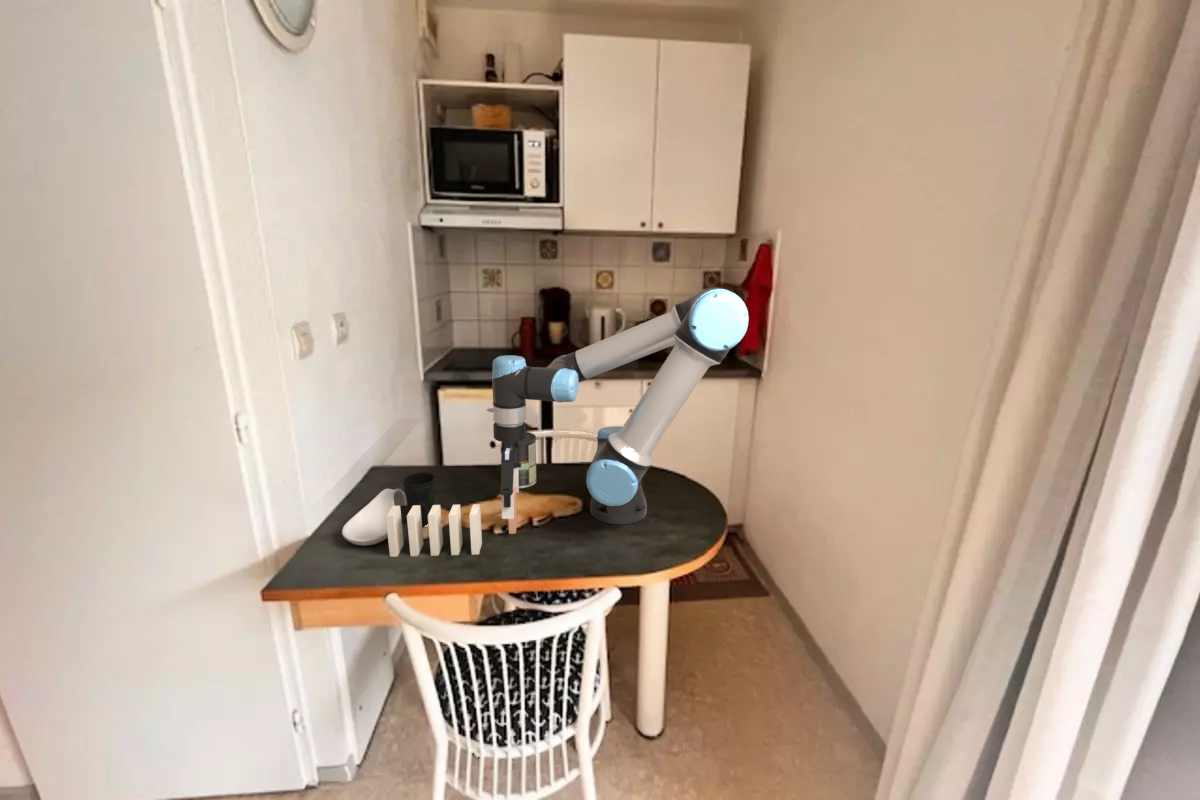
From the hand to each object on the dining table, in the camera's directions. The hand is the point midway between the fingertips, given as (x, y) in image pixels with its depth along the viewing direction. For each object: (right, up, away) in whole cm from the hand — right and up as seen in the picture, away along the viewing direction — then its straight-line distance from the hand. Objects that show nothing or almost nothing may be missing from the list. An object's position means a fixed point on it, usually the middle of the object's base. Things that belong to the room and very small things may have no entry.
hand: (510, 504), depth 128 cm
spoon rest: (-32, -6, +2) cm, 33 cm away
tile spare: (0, -6, +2) cm, 6 cm away
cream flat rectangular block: (-24, -9, -9) cm, 27 cm away
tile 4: (-20, -9, -8) cm, 23 cm away
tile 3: (-15, -9, -8) cm, 20 cm away
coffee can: (-2, +1, +29) cm, 29 cm away
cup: (-23, -5, +4) cm, 24 cm away
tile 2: (-11, -9, -8) cm, 16 cm away
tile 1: (-6, -9, -7) cm, 13 cm away
